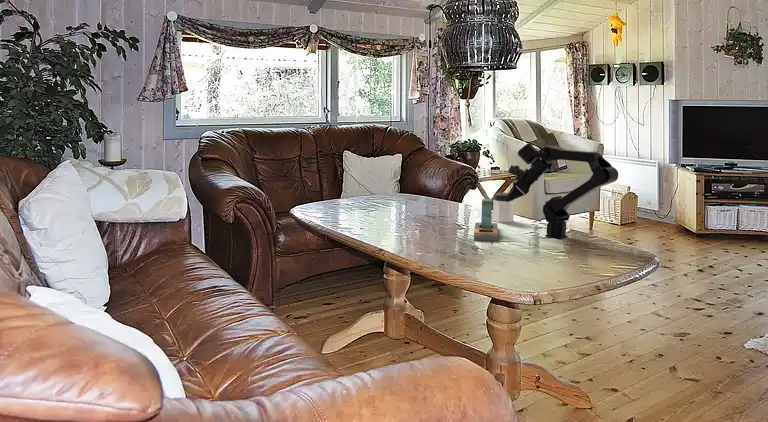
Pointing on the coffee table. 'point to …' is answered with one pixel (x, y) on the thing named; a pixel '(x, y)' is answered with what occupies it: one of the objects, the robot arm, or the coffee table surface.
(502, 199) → the jar
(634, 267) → the coffee table surface
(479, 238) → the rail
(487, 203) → the peg
